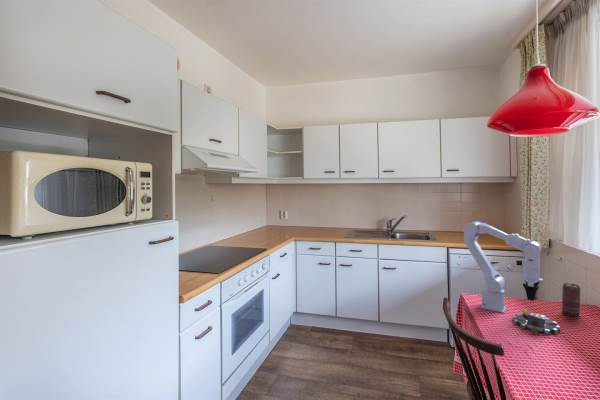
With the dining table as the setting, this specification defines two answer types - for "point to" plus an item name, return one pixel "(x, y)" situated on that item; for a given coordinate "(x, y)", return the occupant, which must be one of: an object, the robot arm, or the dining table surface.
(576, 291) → the can
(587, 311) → the dining table surface
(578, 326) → the dining table surface
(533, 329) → the brown rectangular block
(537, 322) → the gray speaker cabinet
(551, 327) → the sprocket
